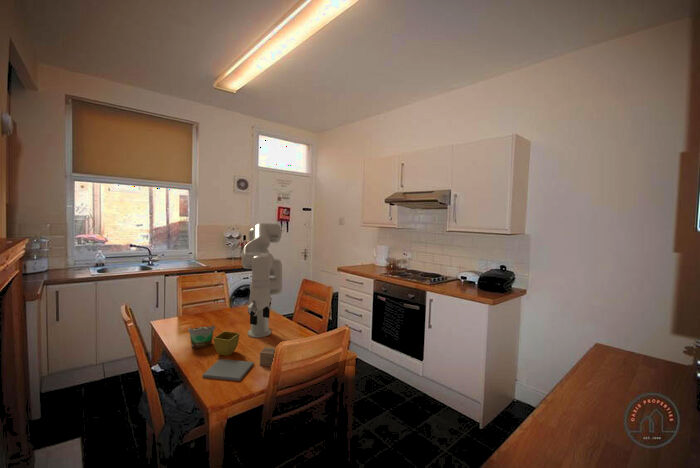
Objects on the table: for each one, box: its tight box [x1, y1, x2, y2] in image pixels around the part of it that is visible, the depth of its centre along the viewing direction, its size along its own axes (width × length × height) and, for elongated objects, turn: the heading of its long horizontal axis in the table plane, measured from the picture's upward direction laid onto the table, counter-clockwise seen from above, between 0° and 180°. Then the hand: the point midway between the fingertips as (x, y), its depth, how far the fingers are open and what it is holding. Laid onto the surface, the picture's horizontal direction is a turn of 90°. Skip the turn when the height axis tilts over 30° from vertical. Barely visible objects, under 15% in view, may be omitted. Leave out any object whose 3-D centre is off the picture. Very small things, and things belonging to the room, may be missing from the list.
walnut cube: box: [259, 346, 276, 367], centre depth 145 cm, size 6×6×6 cm
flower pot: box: [213, 330, 240, 357], centre depth 152 cm, size 9×9×9 cm
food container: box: [187, 324, 216, 350], centre depth 158 cm, size 12×6×10 cm, turn 118°
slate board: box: [202, 358, 255, 382], centre depth 137 cm, size 14×16×1 cm
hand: (260, 320), depth 141 cm, fingers open, 9 cm apart
